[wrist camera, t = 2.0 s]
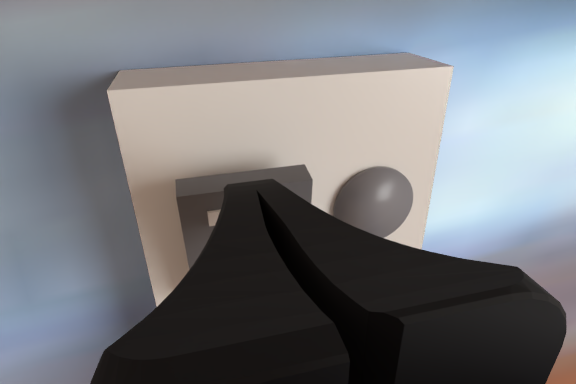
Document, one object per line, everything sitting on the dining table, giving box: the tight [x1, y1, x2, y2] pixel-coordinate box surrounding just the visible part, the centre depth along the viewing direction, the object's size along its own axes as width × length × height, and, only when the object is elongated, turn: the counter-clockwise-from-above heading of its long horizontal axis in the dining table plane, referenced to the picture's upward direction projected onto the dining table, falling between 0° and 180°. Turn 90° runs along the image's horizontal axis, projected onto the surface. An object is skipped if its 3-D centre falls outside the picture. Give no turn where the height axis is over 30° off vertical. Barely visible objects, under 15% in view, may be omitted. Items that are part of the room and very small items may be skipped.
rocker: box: [175, 164, 313, 270], centre depth 13 cm, size 5×4×2 cm
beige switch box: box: [107, 53, 454, 306], centre depth 18 cm, size 18×11×3 cm, turn 1°
